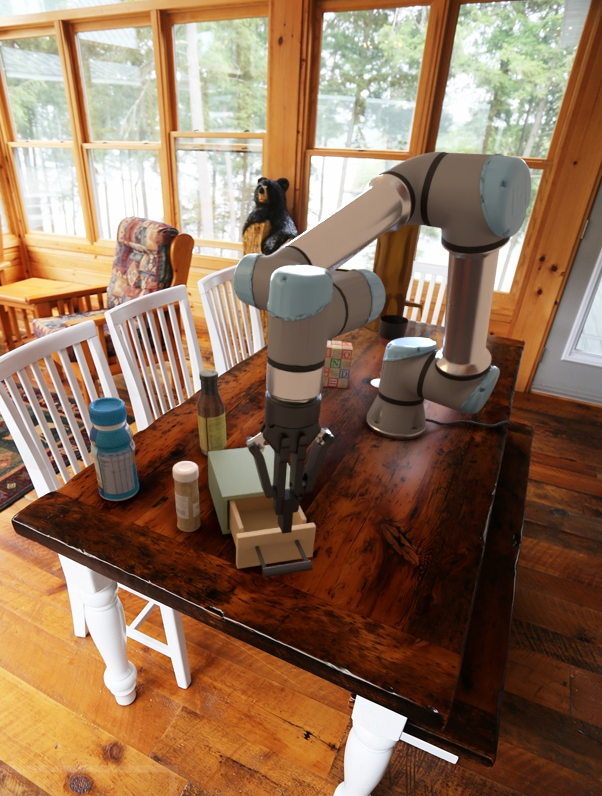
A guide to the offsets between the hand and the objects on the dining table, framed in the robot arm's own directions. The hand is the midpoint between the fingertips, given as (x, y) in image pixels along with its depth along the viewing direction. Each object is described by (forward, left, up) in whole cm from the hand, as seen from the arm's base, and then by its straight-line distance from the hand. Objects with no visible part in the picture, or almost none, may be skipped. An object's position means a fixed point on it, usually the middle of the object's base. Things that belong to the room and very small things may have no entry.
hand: (284, 527), depth 80 cm
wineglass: (-11, -89, -11) cm, 91 cm away
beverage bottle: (+38, -14, -11) cm, 42 cm away
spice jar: (+20, -8, -11) cm, 25 cm away
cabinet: (+11, -18, -11) cm, 24 cm away
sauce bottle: (+25, -35, -12) cm, 45 cm away
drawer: (+4, -6, -10) cm, 12 cm away
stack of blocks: (+10, -83, -11) cm, 85 cm away
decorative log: (-6, -147, -11) cm, 148 cm away
